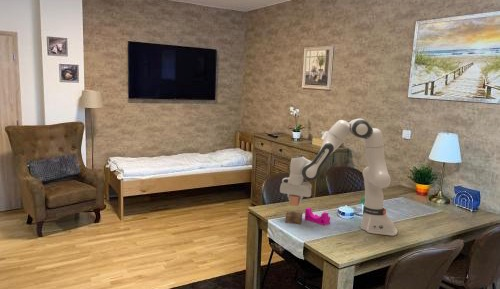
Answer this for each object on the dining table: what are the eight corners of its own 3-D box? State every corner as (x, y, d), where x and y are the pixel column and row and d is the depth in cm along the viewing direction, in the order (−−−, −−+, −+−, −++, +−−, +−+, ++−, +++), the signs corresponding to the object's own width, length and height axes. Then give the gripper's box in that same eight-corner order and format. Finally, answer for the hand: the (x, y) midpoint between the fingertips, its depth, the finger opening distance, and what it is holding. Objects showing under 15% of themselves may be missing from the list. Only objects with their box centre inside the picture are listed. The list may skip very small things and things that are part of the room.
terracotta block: (299, 204, 247) (300, 195, 246) (297, 206, 242) (297, 197, 241) (292, 203, 249) (292, 194, 248) (289, 205, 244) (290, 195, 243)
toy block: (329, 223, 246) (330, 212, 245) (324, 225, 241) (325, 214, 240) (309, 217, 256) (310, 206, 254) (304, 219, 251) (305, 208, 250)
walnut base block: (302, 219, 251) (302, 212, 250) (300, 224, 241) (301, 217, 241) (286, 218, 253) (287, 210, 252) (285, 223, 243) (285, 215, 243)
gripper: (313, 181, 242) (311, 202, 244) (282, 177, 250) (281, 197, 252) (310, 183, 236) (309, 205, 238) (279, 179, 244) (278, 200, 246)
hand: (294, 201), depth 245 cm, fingers closed on terracotta block, 5 cm apart
